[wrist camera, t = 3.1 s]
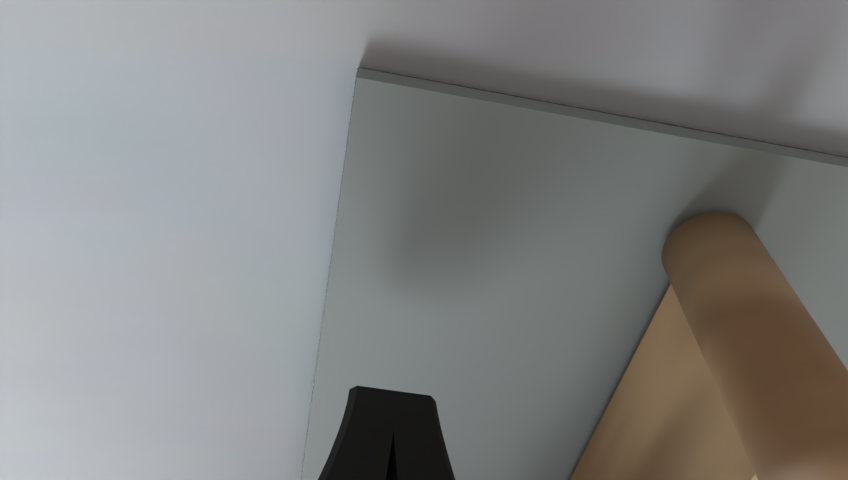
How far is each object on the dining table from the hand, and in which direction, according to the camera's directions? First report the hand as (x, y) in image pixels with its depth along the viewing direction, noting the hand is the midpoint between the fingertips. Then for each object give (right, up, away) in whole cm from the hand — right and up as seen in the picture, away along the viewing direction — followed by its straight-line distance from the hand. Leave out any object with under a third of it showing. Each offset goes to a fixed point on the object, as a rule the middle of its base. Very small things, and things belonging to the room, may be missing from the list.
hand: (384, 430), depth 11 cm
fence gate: (+5, 0, +3) cm, 6 cm away
